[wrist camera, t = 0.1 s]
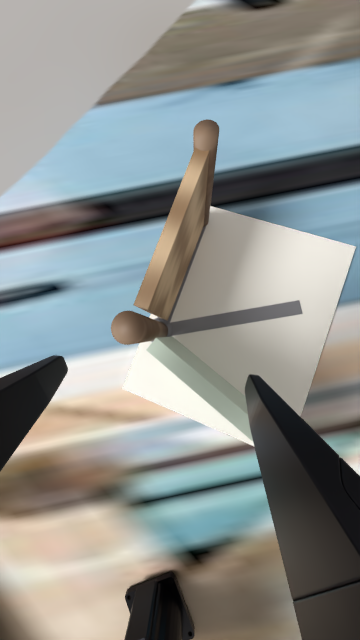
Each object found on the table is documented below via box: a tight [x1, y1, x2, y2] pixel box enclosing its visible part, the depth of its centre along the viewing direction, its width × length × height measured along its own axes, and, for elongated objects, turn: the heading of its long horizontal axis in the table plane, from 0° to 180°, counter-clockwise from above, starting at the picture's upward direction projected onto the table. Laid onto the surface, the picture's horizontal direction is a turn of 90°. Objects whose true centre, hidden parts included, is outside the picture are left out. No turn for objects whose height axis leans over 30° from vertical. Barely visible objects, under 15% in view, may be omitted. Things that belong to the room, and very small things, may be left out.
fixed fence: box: [111, 120, 219, 345], centre depth 18 cm, size 19×2×11 cm, turn 160°
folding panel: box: [146, 337, 253, 441], centre depth 16 cm, size 18×2×10 cm, turn 51°
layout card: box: [122, 206, 356, 446], centre depth 22 cm, size 28×22×1 cm
